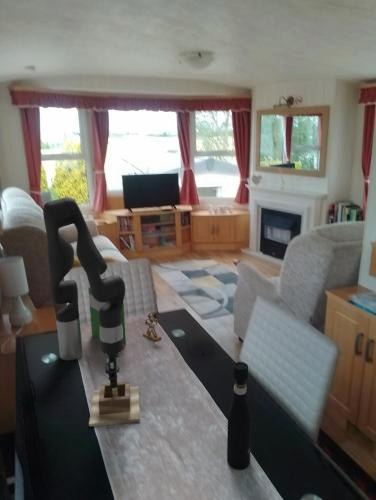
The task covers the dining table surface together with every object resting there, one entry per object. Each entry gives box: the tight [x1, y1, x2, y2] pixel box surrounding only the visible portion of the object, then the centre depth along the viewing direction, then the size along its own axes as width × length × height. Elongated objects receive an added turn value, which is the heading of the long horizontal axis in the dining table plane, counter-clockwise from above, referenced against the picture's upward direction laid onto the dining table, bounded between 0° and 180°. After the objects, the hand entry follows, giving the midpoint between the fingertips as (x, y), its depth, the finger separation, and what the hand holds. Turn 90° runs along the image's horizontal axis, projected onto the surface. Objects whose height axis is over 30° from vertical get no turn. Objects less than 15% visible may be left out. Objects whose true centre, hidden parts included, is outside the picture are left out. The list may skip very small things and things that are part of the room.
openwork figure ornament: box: [142, 312, 162, 342], centre depth 182 cm, size 9×4×12 cm, turn 47°
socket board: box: [88, 380, 141, 427], centre depth 134 cm, size 18×16×6 cm
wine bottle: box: [226, 361, 252, 471], centre depth 107 cm, size 6×6×30 cm
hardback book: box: [87, 286, 127, 345], centre depth 179 cm, size 18×7×24 cm, turn 41°
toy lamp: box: [104, 363, 120, 397], centre depth 132 cm, size 5×5×17 cm
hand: (114, 380), depth 132 cm, fingers open, 8 cm apart
